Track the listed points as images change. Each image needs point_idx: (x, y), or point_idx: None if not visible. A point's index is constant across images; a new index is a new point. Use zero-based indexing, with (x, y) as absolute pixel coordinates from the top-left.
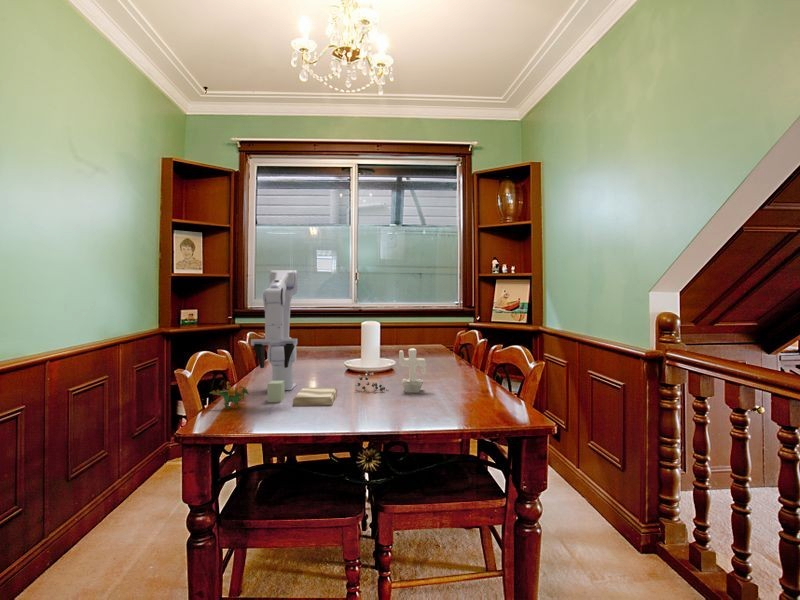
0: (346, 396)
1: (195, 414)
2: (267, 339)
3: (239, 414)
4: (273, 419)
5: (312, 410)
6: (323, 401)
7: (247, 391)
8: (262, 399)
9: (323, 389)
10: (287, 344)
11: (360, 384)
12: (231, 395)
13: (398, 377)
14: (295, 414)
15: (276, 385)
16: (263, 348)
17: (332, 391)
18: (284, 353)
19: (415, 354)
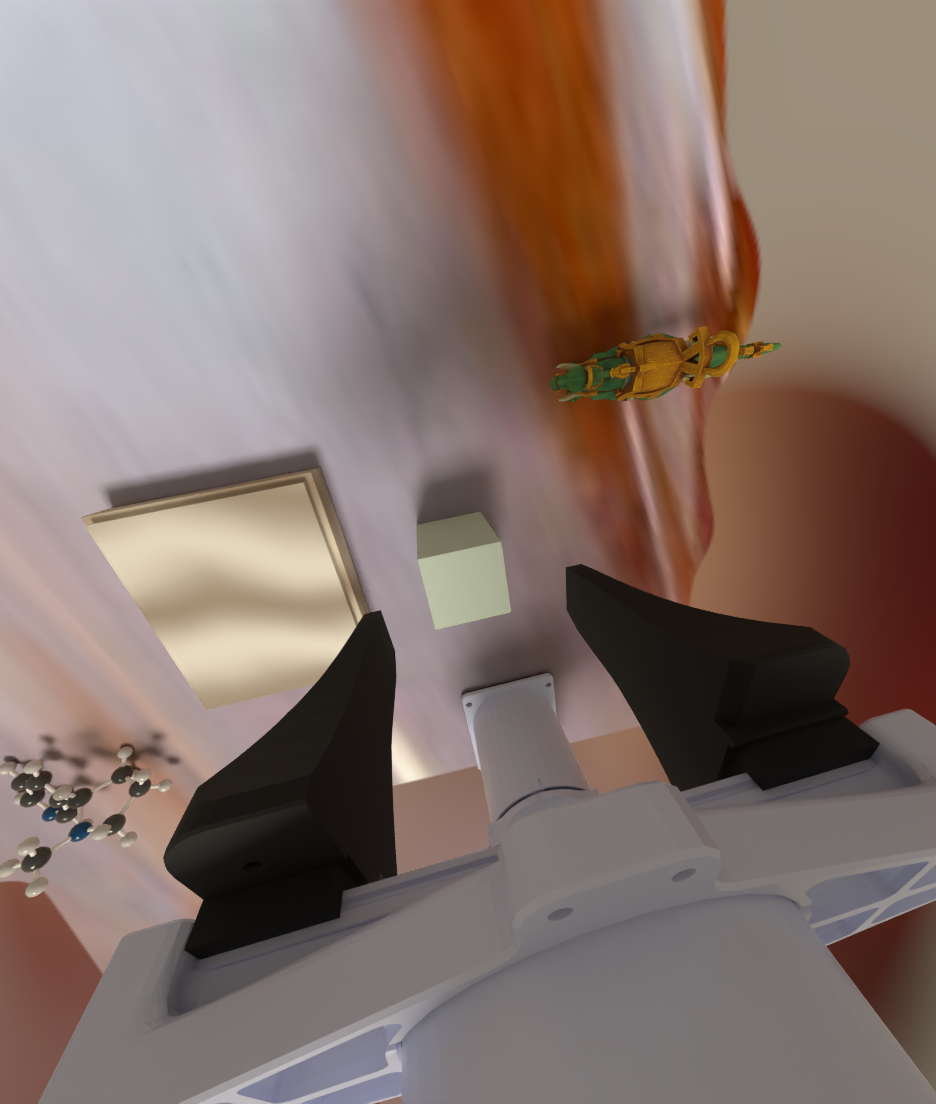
0: (154, 670)
1: (741, 220)
2: (741, 885)
3: (519, 246)
4: (265, 138)
5: (152, 390)
6: (142, 503)
7: (563, 381)
8: (521, 547)
9: (244, 662)
10: (299, 894)
11: (130, 788)
12: (641, 343)
13: None
14: (197, 284)
15: (445, 548)
16: (683, 752)
17: (167, 639)
18: (346, 701)
19: None
